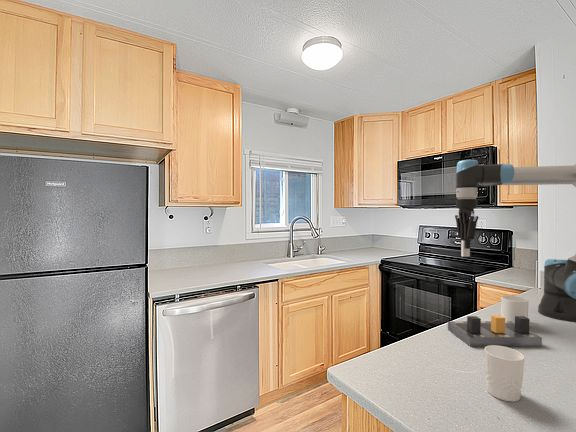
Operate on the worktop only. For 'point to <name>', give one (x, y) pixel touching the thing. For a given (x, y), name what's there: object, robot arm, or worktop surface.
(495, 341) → the panel
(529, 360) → the worktop surface
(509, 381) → the white cup
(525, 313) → the mug
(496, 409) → the worktop surface
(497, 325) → the toggle
